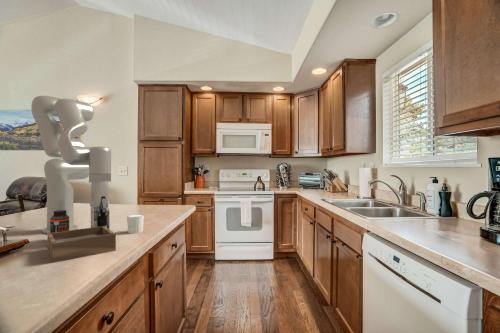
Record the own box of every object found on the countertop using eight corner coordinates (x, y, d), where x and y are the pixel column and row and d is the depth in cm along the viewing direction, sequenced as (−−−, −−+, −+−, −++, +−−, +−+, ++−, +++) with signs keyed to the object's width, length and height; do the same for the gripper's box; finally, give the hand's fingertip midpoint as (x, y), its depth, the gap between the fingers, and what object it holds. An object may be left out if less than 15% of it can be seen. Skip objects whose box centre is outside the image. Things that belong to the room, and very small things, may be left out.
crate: (47, 249, 88) (47, 233, 88) (103, 240, 100) (104, 225, 100) (52, 262, 76) (52, 243, 76) (115, 250, 88) (115, 234, 88)
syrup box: (92, 241, 98) (92, 202, 98) (90, 238, 103) (90, 201, 103) (109, 238, 102) (109, 201, 102) (106, 235, 106) (106, 200, 106)
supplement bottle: (59, 242, 97) (59, 211, 97) (45, 241, 98) (45, 211, 98) (73, 238, 103) (73, 209, 103) (60, 237, 104) (60, 208, 104)
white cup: (123, 233, 111) (123, 216, 111) (135, 229, 117) (135, 213, 117) (135, 234, 109) (135, 217, 109) (147, 230, 115) (147, 214, 115)
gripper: (84, 178, 106) (84, 222, 106) (93, 179, 93) (93, 230, 93) (105, 177, 111) (105, 220, 111) (116, 178, 98) (116, 227, 98)
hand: (100, 224), depth 102 cm, fingers closed on syrup box, 6 cm apart
